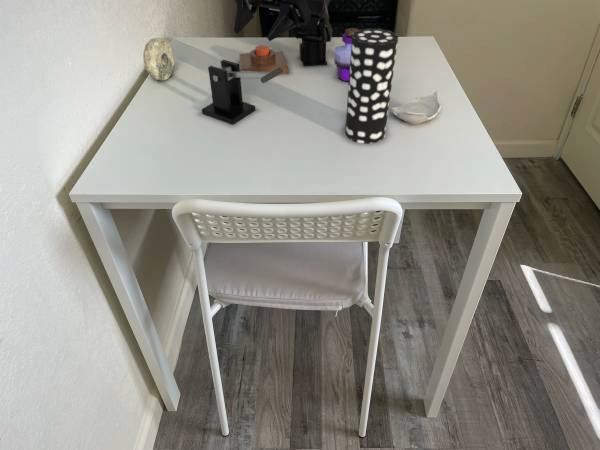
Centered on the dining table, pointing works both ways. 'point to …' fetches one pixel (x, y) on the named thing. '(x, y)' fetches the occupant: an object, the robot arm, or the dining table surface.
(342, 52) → the potion bottle
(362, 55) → the white-spotted black cylinder
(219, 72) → the bracket
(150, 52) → the stone ring
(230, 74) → the lever
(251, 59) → the control block
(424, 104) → the pottery shard
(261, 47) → the button
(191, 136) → the dining table surface
